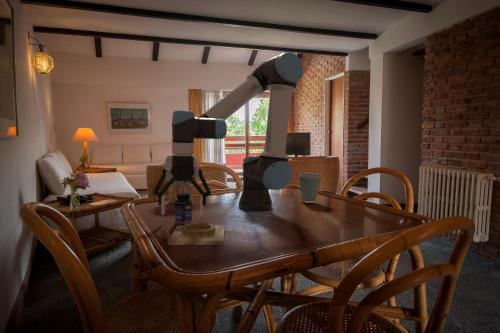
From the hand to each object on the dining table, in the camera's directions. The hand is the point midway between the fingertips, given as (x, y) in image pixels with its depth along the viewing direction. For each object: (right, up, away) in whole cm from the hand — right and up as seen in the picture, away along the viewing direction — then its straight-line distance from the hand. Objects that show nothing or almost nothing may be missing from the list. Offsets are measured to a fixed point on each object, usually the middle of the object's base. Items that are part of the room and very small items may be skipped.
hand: (182, 214), depth 112 cm
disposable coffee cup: (+53, -1, +40) cm, 67 cm away
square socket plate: (+8, -5, -13) cm, 16 cm away
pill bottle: (0, -4, +1) cm, 4 cm away
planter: (-9, 0, +39) cm, 40 cm away
